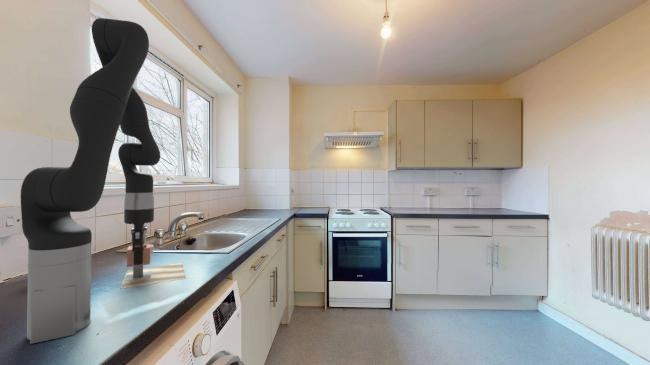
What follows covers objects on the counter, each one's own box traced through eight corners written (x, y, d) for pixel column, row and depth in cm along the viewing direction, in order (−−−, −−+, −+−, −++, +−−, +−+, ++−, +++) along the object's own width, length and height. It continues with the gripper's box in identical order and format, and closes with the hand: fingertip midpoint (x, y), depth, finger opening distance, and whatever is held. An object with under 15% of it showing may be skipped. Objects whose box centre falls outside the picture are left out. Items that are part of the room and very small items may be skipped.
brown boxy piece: (152, 263, 82) (152, 247, 82) (126, 267, 78) (127, 250, 78) (153, 259, 86) (153, 243, 86) (129, 262, 83) (129, 246, 83)
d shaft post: (142, 280, 81) (142, 257, 82) (133, 282, 80) (133, 258, 80) (143, 278, 84) (143, 255, 84) (133, 279, 82) (134, 256, 82)
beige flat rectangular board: (185, 282, 81) (186, 277, 81) (119, 293, 72) (120, 288, 72) (182, 266, 96) (182, 262, 96) (127, 273, 88) (127, 269, 88)
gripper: (153, 208, 78) (152, 266, 78) (154, 204, 90) (154, 254, 90) (121, 210, 74) (120, 270, 74) (127, 205, 86) (126, 257, 86)
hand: (139, 261), depth 82 cm, fingers closed on brown boxy piece, 5 cm apart
